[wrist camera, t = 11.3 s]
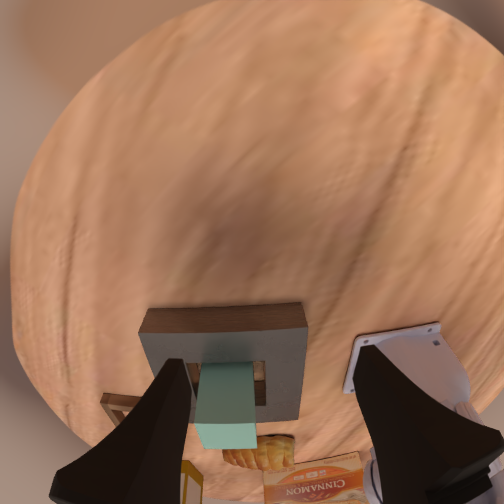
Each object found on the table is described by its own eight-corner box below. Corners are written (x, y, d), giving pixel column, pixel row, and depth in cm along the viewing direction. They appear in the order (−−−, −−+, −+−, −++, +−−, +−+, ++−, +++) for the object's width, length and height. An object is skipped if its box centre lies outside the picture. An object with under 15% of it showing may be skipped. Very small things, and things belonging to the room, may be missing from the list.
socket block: (301, 302, 22) (308, 327, 20) (294, 396, 27) (298, 419, 25) (148, 308, 22) (138, 332, 20) (178, 399, 27) (174, 422, 25)
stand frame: (169, 399, 27) (166, 410, 26) (184, 435, 31) (183, 444, 29) (103, 393, 27) (99, 402, 26) (126, 429, 31) (124, 438, 29)
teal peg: (251, 343, 24) (255, 423, 17) (253, 374, 26) (257, 448, 19) (204, 344, 24) (193, 423, 17) (210, 375, 26) (204, 448, 18)
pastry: (227, 456, 34) (227, 478, 31) (217, 435, 31) (216, 460, 28) (294, 451, 34) (297, 473, 30) (293, 429, 31) (297, 454, 28)
